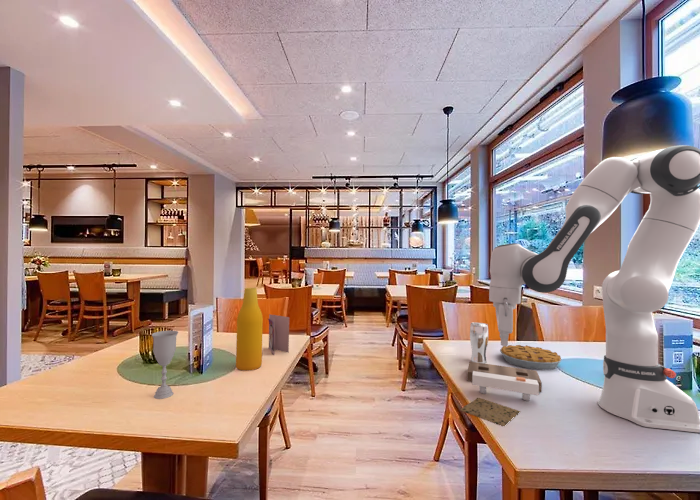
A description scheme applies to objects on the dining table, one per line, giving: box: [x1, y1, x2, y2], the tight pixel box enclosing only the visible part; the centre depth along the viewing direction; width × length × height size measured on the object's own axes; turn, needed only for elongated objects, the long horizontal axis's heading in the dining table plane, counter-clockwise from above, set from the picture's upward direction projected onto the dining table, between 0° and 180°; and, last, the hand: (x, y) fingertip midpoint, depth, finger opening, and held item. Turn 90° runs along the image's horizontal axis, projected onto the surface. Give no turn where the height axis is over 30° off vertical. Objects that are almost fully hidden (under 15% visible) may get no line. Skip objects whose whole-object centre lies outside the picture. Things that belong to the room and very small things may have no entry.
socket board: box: [466, 361, 543, 393], centre depth 113 cm, size 22×12×3 cm, turn 67°
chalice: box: [151, 330, 179, 400], centre depth 96 cm, size 7×7×18 cm
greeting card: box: [267, 314, 290, 356], centre depth 142 cm, size 11×7×15 cm, turn 25°
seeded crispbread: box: [460, 397, 521, 427], centre depth 90 cm, size 12×12×1 cm
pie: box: [499, 344, 562, 371], centre depth 134 cm, size 22×22×5 cm
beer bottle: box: [235, 287, 264, 372], centre depth 122 cm, size 9×9×29 cm
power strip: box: [471, 371, 540, 402], centre depth 100 cm, size 18×4×6 cm, turn 67°
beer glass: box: [469, 322, 489, 364], centre depth 133 cm, size 7×7×15 cm
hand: (503, 341), depth 100 cm, fingers open, 8 cm apart
